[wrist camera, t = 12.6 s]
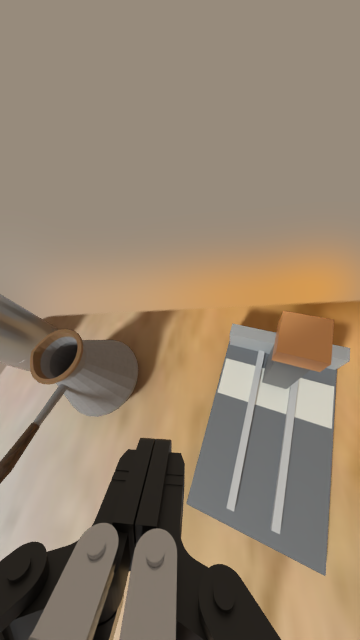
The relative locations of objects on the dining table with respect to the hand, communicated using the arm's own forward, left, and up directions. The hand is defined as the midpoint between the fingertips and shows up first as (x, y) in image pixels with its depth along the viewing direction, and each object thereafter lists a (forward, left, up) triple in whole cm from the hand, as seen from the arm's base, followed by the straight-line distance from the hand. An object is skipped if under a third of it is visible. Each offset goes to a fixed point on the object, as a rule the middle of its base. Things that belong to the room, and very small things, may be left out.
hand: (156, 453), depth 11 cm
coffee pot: (-15, +6, -21) cm, 26 cm away
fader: (+11, +6, -19) cm, 23 cm away
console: (+8, 0, -21) cm, 22 cm away
